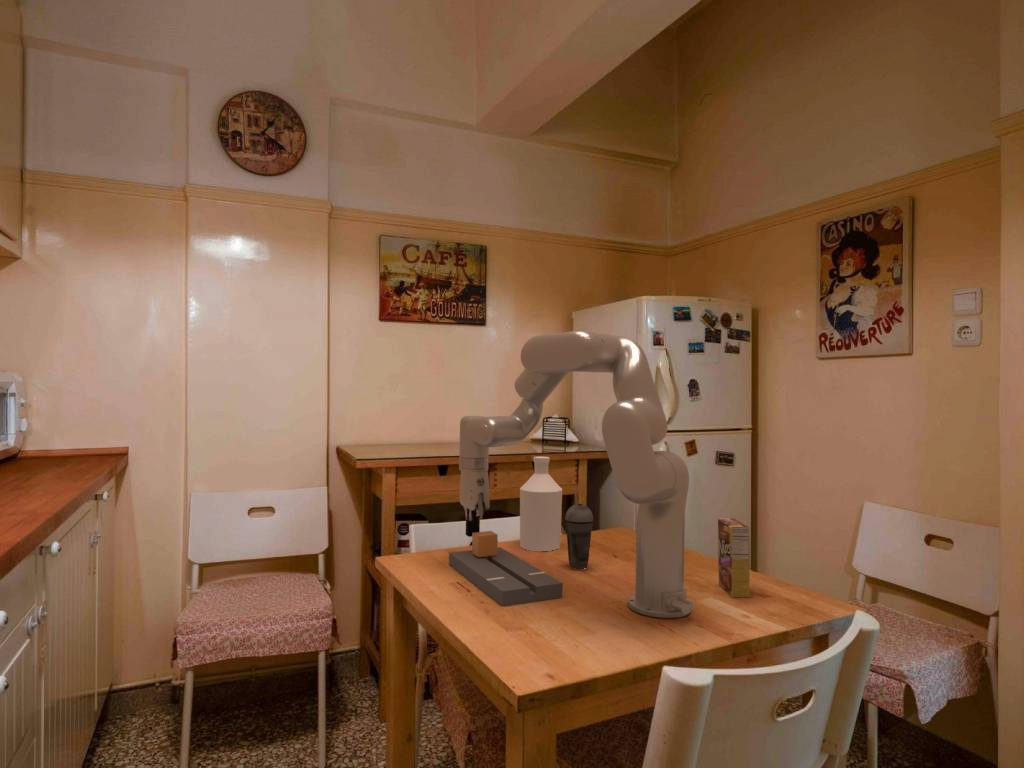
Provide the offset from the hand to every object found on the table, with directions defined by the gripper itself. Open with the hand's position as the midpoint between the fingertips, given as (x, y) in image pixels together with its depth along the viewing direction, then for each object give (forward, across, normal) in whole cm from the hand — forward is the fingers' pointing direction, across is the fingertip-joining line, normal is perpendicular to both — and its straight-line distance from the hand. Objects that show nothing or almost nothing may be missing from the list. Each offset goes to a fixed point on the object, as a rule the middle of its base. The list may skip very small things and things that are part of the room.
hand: (472, 535), depth 157 cm
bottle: (+6, +5, -23) cm, 24 cm away
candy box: (+6, -45, -44) cm, 63 cm away
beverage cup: (+6, -16, -22) cm, 28 cm away
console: (+6, -18, 0) cm, 19 cm away
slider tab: (+4, -8, 0) cm, 9 cm away
